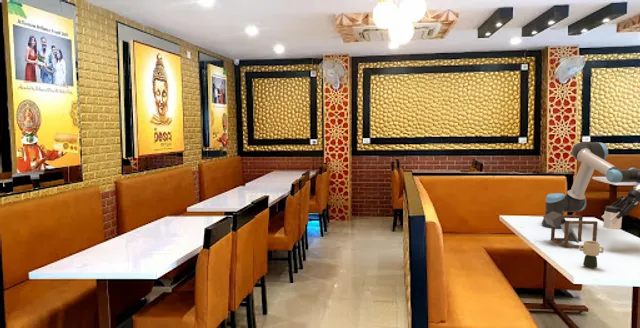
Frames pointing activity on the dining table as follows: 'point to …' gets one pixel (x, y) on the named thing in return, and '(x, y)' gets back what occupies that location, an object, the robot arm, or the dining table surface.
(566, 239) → the trapdoor frame
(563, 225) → the trapdoor
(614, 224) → the jar
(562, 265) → the dining table surface
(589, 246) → the character mug
